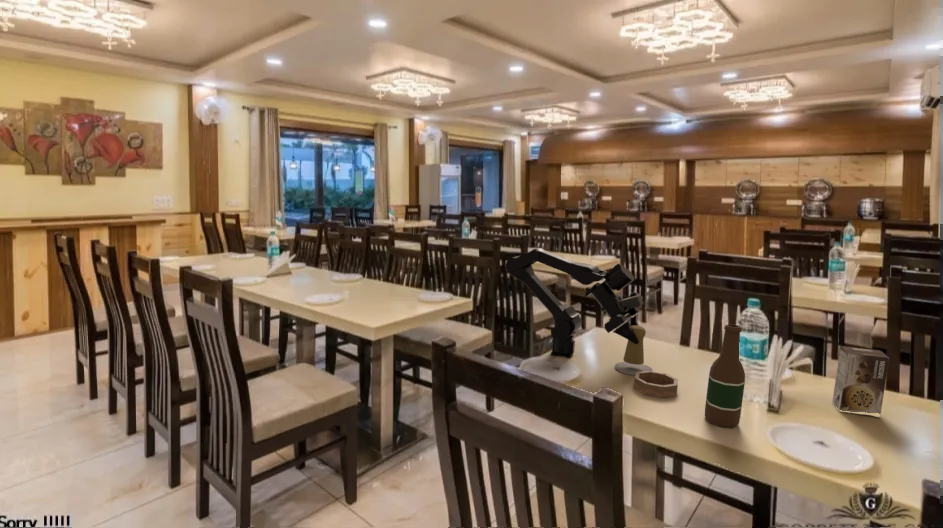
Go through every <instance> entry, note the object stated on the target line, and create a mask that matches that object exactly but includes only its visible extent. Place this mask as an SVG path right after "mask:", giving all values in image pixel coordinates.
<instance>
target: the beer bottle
mask: <svg viewBox="0 0 943 528" xmlns="http://www.w3.org/2000/svg"><path fill="white" fill-rule="evenodd" d="M723 329H724V334H723V340H722V345H721V350H720V353H719V356H718V357H717V358H716V359H715V360H714V361H713V362H712V364H711V365H710V368H709V372H708V373H709V374H708V380H707V387H706V397H705V404H704V406H705V407H704V418H705V419H706V420H707V422H708V423H709V424H711V423H712V425H714V426H716V427H718V426H719V428H727V429H734V428H735V427H737V426H739V424H740V420H741V413H742V407H743V406H742V405H743V400H744V391H745V390H744V389H745V386H746V385H745V382H746V373H745V369H744V366H742V364H741V360H740V361H739V342H740V340H741V339H740V338H741V337H740V336H741V333H742V327H741V326H739V325H738V324H731V323H730V324H729V323H728V324H725V325H724V327H723Z"/></svg>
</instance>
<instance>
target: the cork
mask: <svg viewBox="0 0 943 528" xmlns="http://www.w3.org/2000/svg"><path fill="white" fill-rule="evenodd" d="M630 327H631V328H632V330H633V332H634V334H635V335H636V337H637V339H638V341H639V343H638V344H635V343H633V342H631V341H629V340H628V339H627V342H626V347H625V350H624V351H625V352H624V355H623V362H627V363H630V364H636V365H640V364H644V363H645V358H644V357H645V356H644V355H645V353H644V351H645V350H644V339H643V338H645V336H646V332H647V331H646V329H645V327H643V326H641V325H639V326H637V325H632V326H630Z"/></svg>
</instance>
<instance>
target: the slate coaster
mask: <svg viewBox="0 0 943 528" xmlns="http://www.w3.org/2000/svg"><path fill="white" fill-rule="evenodd" d="M614 368H615V370H616V371H617V372H619V373H620V374H624V375H627V376H633V377H635V374H636V372H643V371H654V369H653V368H652V367H650V366H648V365H646V364H644V363H643V364H640V365H636V364H630V363H627V362H625V361H619V362H617V363H615V365H614Z"/></svg>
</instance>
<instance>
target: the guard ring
mask: <svg viewBox="0 0 943 528" xmlns="http://www.w3.org/2000/svg"><path fill="white" fill-rule="evenodd" d="M678 385H679V379H678V378H676V377H674V376H672V375H670V374H667V373H665V372H659V371H654V370H653V371H643V372H636V374H635V376H634V378H633V387H632V388H633V389H635V390H637V391H638V392H640V393H641V394H643V395H647V396H650V397H651V396H652V397H658V398H671V397H675V396H676V397H677V395H678Z"/></svg>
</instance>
